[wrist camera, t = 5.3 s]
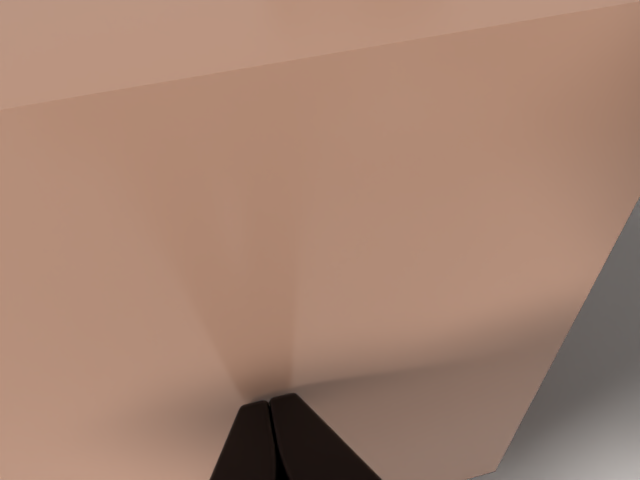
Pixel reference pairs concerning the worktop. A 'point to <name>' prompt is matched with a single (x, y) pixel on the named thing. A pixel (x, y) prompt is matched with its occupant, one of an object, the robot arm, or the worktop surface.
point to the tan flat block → (300, 221)
